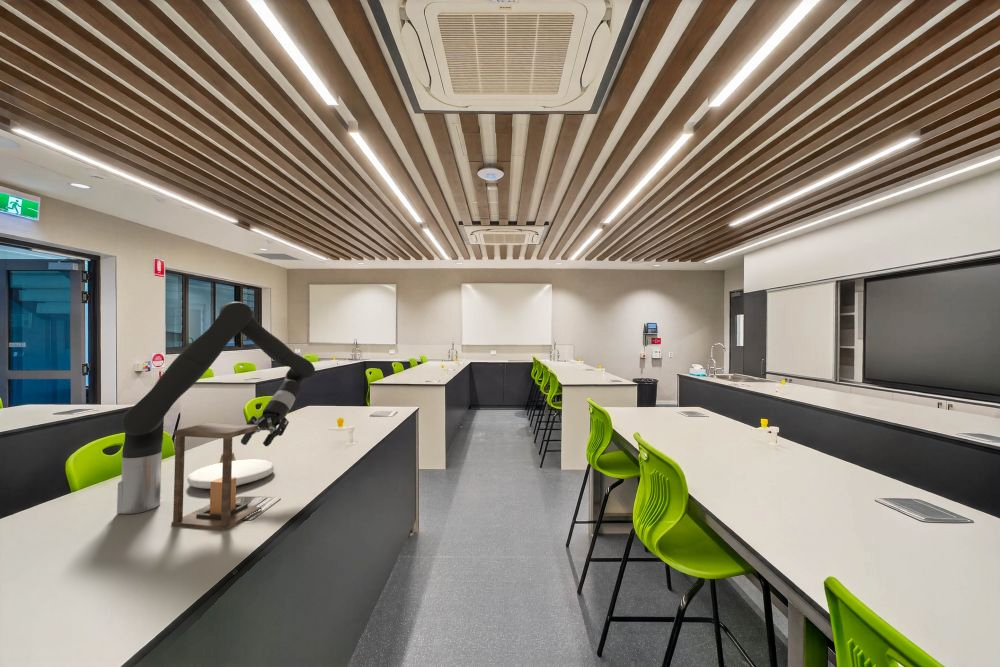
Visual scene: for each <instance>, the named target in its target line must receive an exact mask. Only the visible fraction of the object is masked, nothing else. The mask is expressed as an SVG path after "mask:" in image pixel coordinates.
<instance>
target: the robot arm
mask: <svg viewBox="0 0 1000 667" xmlns="http://www.w3.org/2000/svg"><path fill="white" fill-rule="evenodd" d="M239 333H241V334H242V335H244V336H245V337H246V338H247V339H249V340H251V342H253V343H254V344H255V345H256V346H257V347H258V348H259V349H260V350H261V351H262V352H264V354H265V355H267V356H268V357H269V358H270V359H271V360H272V361H273V362H275V363H276V364H277V365H279V366H280V367H288V368H289V369H288V370H287V371H286V374H285V377H284V379H283V381H282V384H281V385H280V387H279V388H278V389H277V391H276V392H275V393H274V394H273V395H272V397H271V398H270V400H269V401H268V403H267V404H266V405H265V407H264V408H263V410H262V413H261V416H259V417H256V416H255V415H253V416H251V418H250V419H249V420H248V422H247V423H245V425H258V430H256V431H253V432H249V433H246V434H243V435H242V437H241V439H240V443H241V444H242V445H243V446H247V444H248V443H249V442H250V440H251V438H252V437H253V435H255V434H257V433H260V432H261V431H267V432H269V433H268V434H267V436H266V437H265V439H264V440H263V442H262V445H264V447H269V446H270V445H271V444H272V442H273V440H274V439H275V438H276V437H278V436H279V437H281V436H283V434H284V432H285V431H286V429H287V427H288V425H289V423H290V421H289V420H288V419H287V418H286V416H287V414H288V413H289V412H290V410H291V409H292V407H293V405H294V403H295V401H296V399H297V397H298V396H299V394H300V392H301V390H302V385H301V383H302V382H303V381H305V380H308V379H310V378H313V376H314V375H315V373H316V367H315V365H314V364H313V363H312V362H311V361H310V360H308V359H307V358H305V357H303V356H302V355H299V354H297V353H296V352H294V351H293V350H291V348H290V347H289V346H287V345H286V344H285V343H284V342H282V341H281V340H280V339H279V338H278V337H276V336H275V335H273V334H272V333H270V332H269V331H268V330H267V329H266V328H265V327H263V326H262V325H261V324H260V323H259V322H258V321H257V320H256V319H255V318H254V316H253V311H252V308H251V307H250V306H249V305H248V304H246V303H245V302H241V301H231V302H227V303H225V304H224V305H222V307H221V308H220V310H219V315H218V316H217V318H216V319H215V320H214V321H213V323H212V324H211V325H210V327H208V329H207V330H206V331H204V332H203V333H202V334H201V335H200V336H198V337H197V338H196V339H195V340H194V341H192V342H191V343H190V344H189V345H188V346H186V347H185V348H184V349H183V350H182V351H181V352H180V354H178V356H176V358H175V359H174V360H173V361H172V362H171V363H170V364H169V366H168V367H167V368H166V370H165V371H164V372H163V374H162V375H161V377H160V378H159V380H158V381H157V382H156V383H155V385H154V386H153V388H151V390H149V391H148V393H147V394H145V396H144V397H143V398H141V399H140V400H139V401H138V402H137V403H136V404H135V405H133V406H132V407H131V408H130V409H129V410H126V412H125V413H124V414H123V416H122V419H121V427H122V429H123V431H124V440H123V446H122V452H121V457H122V458H121V480H120V481H119V482H118V483H117V498H116V514H117V515H119V514H123V515H131V514H133V515H134V514H139V513H144V512H148V511H150V510H153V509H155V508H157V507H159V505H161V492H162V490H161V489H162V488H161V484H162V483H161V482H162V458H163V457H162V453H163V452H162V451H163V441H164V425H165V421H164V420H165V416H166V414H167V413H168V412H169V410H170V409H171V407H172V406H173V405H174V404H175V403H176V401H178V399H179V398H181V397H182V396H183V395H184V394H185V393H187V391H188V390H189V389H190V388H192V387H193V386H194V385H195V384H196V383H197V382H198V381H199V380H200V379H201V378H202V376H203V375H204V374H205V373H206V372H207V371H208V370H209V368H210V367H211V366H212V365H213V364H214V362H215V361H216V360H217V358H219V356H220V355H221V353H222V352H223V350H224V349H225V347H226V346H227V344H229V343H230V341H231V340H233V338H234V337H235V336H236V335H238V334H239Z"/></svg>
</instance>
